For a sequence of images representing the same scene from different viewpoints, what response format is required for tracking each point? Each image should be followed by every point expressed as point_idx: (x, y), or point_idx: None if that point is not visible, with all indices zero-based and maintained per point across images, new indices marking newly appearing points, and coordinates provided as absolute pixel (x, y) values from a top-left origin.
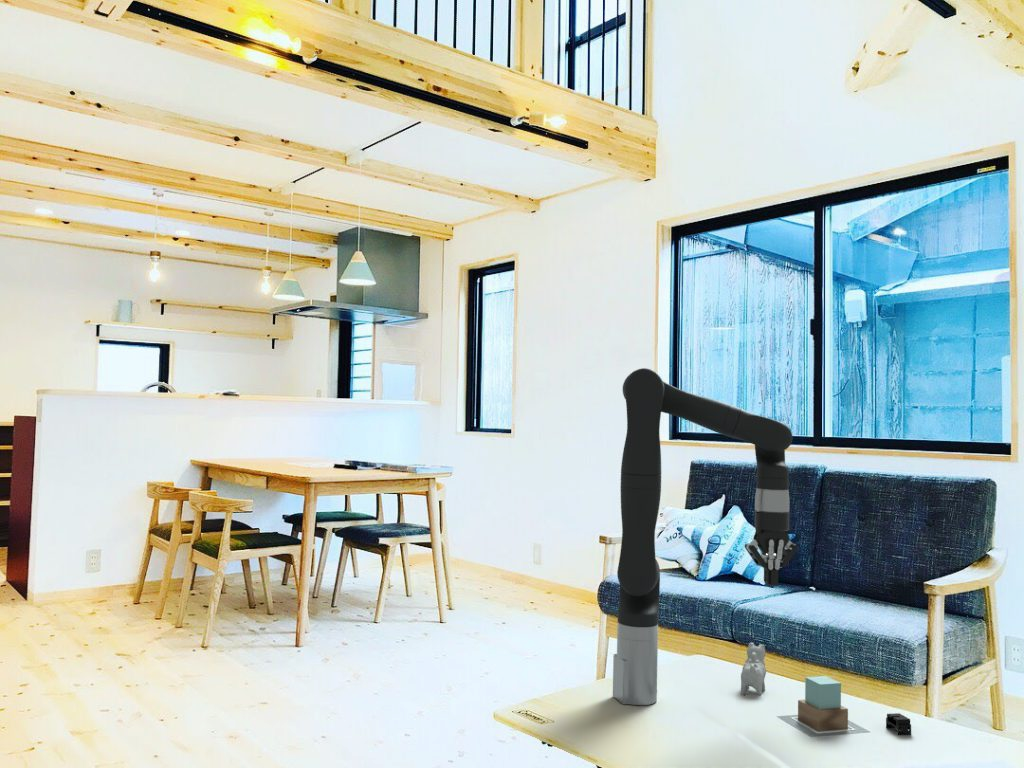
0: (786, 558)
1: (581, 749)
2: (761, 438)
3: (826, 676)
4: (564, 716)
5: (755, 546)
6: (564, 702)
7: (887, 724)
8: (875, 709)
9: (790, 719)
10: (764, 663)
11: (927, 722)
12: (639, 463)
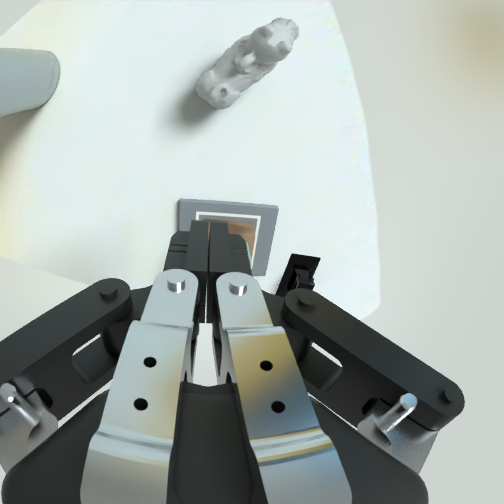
0: (310, 386)
1: None
2: None
3: (250, 265)
4: None
5: (33, 438)
6: None
7: (296, 274)
8: (357, 201)
9: (192, 216)
10: (273, 65)
11: (367, 253)
12: None
